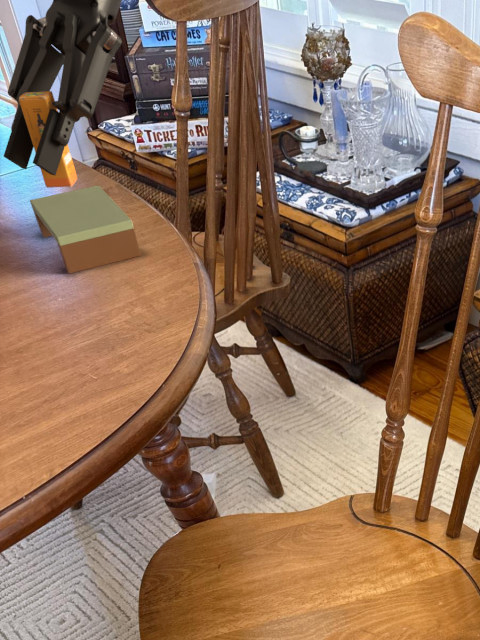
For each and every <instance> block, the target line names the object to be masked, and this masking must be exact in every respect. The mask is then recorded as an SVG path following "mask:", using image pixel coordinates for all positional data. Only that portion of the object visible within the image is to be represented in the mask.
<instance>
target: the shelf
mask: <svg viewBox="0 0 480 640" xmlns="http://www.w3.org/2000/svg"><path fill="white" fill-rule="evenodd" d="M29 203H30V205H31V208H32V211H33V214H34V218H35V220H36V222H37V223H36V224H37V226H38V229H39V231H40V235H42V237H43V238H49V237H53V238H54V239H53V240H55V241H56V244H57V247H58V249H59V253H60V255H61V258H62V261H63V265H64V267H65V270H66V272H67V273H68V274H70V275H71V274H73V273H78V272H82V271H85V270H86V271H87V270H89V269H93V268H97V267H101V266H105V265H110V264H114V263H117V262H120V261H125V260H129V259H133V258H136V257H140V256H142V253H141V250H140V246H139V243H138V239H137V235H136V232H135V228H134V224H133V220H132V219H131V218H130V217H129V216H128V215H127V214H126V212H124V210H123V209H122V208H121V207H120V206H119V205H118V204H117V203H116V202H115V201H114V200H113V199H112V198H111V197H110V195H109V194H108V193H106V191H104V189H103V188H102V187H101V186H100V185H93V186H89V187H84V188H79V189H75V190H70V191H66V192H61V193H57V194H51V195H47V196H43V197H38V198H33V199H29Z"/></svg>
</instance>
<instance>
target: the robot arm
mask: <svg viewBox="0 0 480 640" xmlns="http://www.w3.org/2000/svg"><path fill="white" fill-rule="evenodd" d="M122 1H123V0H52V2H51V4H50V7H49V8H48V9H47V11H46V13H45V16H44V17H41V18H38V19H37V18H36V17H35V16H34V15H32V14H29V15H28V16H26V18H25V29H24V37H23V40H22V44H21V47H20V49H19V53H18V56H17V60H16V62H15V66H14V69H13V73H12V76H11V79H10V82H9V86H8V89H7V94H8V96H9V97H11V99H13V100H14V101H16V102H17V108H16V110H15V113H14V117H13V120H12V123H11V128H10V135H9V138H8V140H7V144H6V147H5V151H4V153H3V158H4V159H6V160H8V161H10V162H11V163H13V164H14V165H16V166H18V167H20V168H21V169H25V170H27V168H28V166H29V163H30V159H31V157H32V153H33V149H34V146H33V143H32V140H31V137H30V133H29V130H28V127H27V124H26V121H25V118H24V115H23V112H22V108H21V105H20V102H19V97H20V96H21V95H23V94H24V93H27V92H45V91H51V89H52V88H53V85H54V84H55V81H56V79H57V77H58V75H59V73H60V72H61V69H62V72H61V78H60V84H59V91H58V96H57V97H58V98H57V100H55V101H54V102H52V105H53V106H54V107H56V108H57V110H58V111H56V110H55V109H50V111H49V114H48V117H47V120H46V123H45V126H44V129H43V132H42V135H41V139H40V142H39V145H38V148H37V151H36V153H35V154H34V157H33V161H32V164H34V165H35V166H37V167H38V168H41V169H43V170H44V171H46V172H48V173H49V174H51V175H56V172H57V169H58V166H59V163H60V160H61V157H62V154H63V151H64V148H65V146H67V144H68V145H69V142H70V138H71V136H72V133H73V130H74V127H75V124H76V123H77V122H79V121H80V120H81V119H82V118H84V117H85V119H88V120H89V119H91V118H93V115H94V113H95V111H96V108H97V107H96V106H97V105H98V101H99V98H100V96H101V93H102V90H103V87H104V84H105V82H106V79H107V75H108V73H109V70H110V67H111V64H112V62H113V59H114V56H115V54H116V53H117V52H118V51H119V49H120V47H121V46H122V44H123V40H122V38H121V36H119V35H118V34H117V32H115V31H114V30H113V29H112V28H111V27H110V26H112V25H114V23H115V22H116V20H117V15H118V12H119V10H120V7H121V4H122ZM84 101H85V102H84ZM41 169H40V170H41Z"/></svg>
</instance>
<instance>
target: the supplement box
mask: <svg viewBox="0 0 480 640" xmlns="http://www.w3.org/2000/svg"><path fill="white" fill-rule="evenodd" d="M54 101H56V100H55V97H54V93H53V91H52V90H50V91H45V92H27V93H24V94H23V95H21V96H20V97H19V102H20V105H21V108H22V112H23V115H24V118H25V121H26V124H27V127H28V130H29V133H30V137H31V140H32V143H33V146H34V147H33V149H34V152H35V154H36V151H37V148H38V145H39V142H40V139H41V135H42V132H43V129H44V126H45V123H46V120H47V117H48V114H49V111H50V109H55V110H56V111H58V112H59V110H58V109H57V108H56V107H54V106H53V105H52V102H54ZM39 168H40V167H39ZM40 171H41V175H42V179H43V181H44V186H45V187H46V188H71V187H73V186H74V185H75V183H76V182H77V180H78V175H77V172H76V168H75V165H74V161H73V157H72V154H71V151H70V147H69V143H68V144H67V146H65V148H64V151H63V154H62V157H61V160H60V163H59V166H58V169H57V172H56V175H51V174H49V173H48V172H46V171H44V170H43V169H41V168H40Z"/></svg>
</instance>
